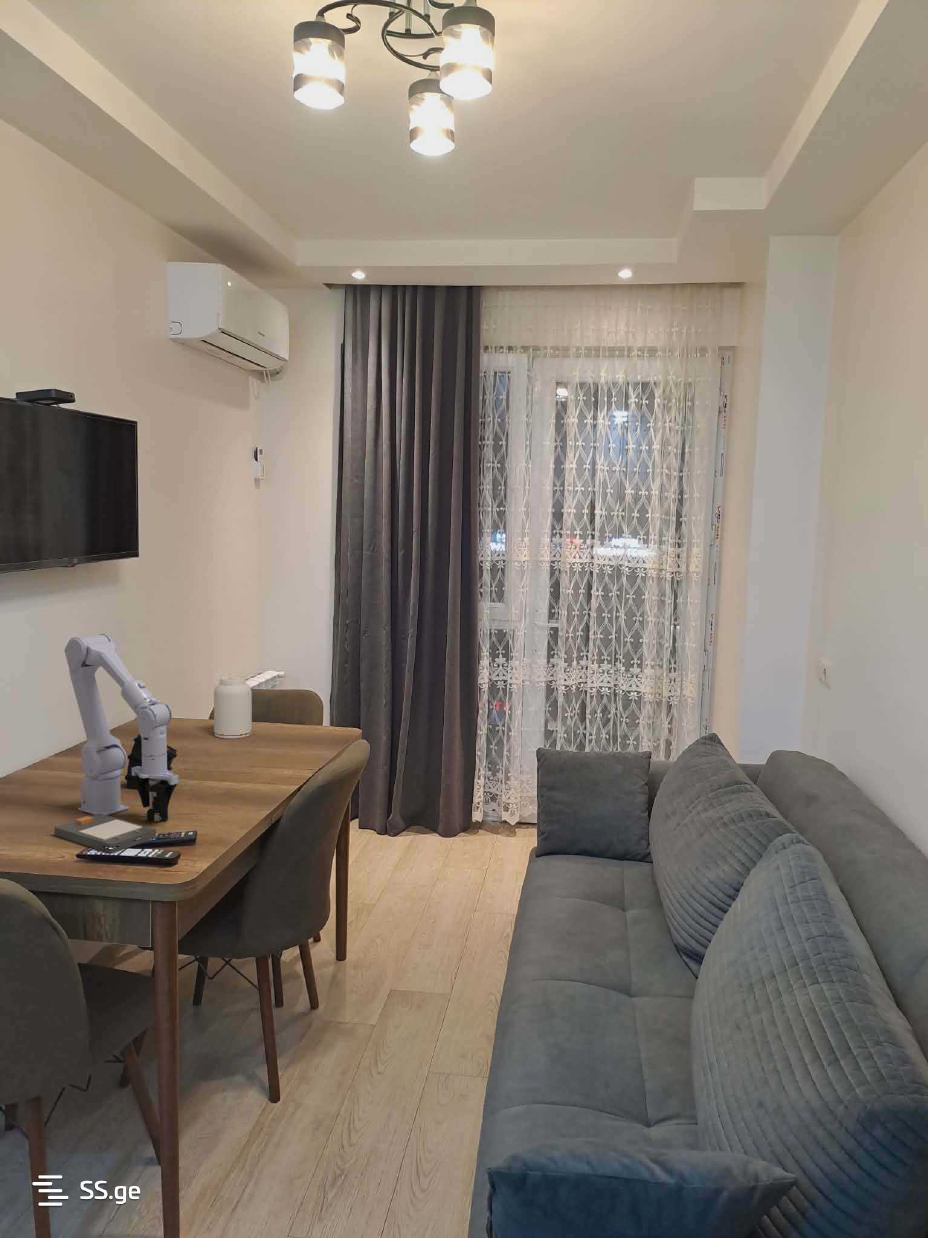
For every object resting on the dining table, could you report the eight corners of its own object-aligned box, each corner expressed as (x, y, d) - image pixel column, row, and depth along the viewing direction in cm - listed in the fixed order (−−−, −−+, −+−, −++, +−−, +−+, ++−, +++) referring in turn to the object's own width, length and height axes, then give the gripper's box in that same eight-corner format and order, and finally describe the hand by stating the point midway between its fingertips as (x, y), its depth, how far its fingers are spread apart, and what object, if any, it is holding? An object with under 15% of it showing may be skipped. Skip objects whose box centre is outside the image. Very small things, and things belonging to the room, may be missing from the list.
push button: (138, 824, 212) (137, 783, 211) (142, 817, 217) (141, 777, 216) (167, 822, 213) (166, 781, 212) (170, 816, 218) (169, 776, 218)
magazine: (120, 778, 244) (142, 731, 242) (162, 801, 243) (184, 754, 241) (113, 782, 240) (136, 734, 238) (156, 805, 239) (178, 757, 237)
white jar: (215, 731, 309) (215, 674, 307) (252, 730, 311) (252, 674, 309) (212, 739, 297) (212, 680, 295) (250, 739, 299) (250, 680, 297)
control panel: (54, 835, 203) (54, 823, 203) (100, 821, 213) (99, 810, 213) (111, 853, 193) (110, 841, 193) (155, 838, 203) (155, 826, 203)
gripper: (120, 752, 214) (121, 807, 215) (161, 761, 206) (162, 818, 208) (144, 746, 220) (145, 800, 221) (185, 755, 212) (185, 810, 214)
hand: (155, 808), depth 215 cm, fingers open, 5 cm apart
